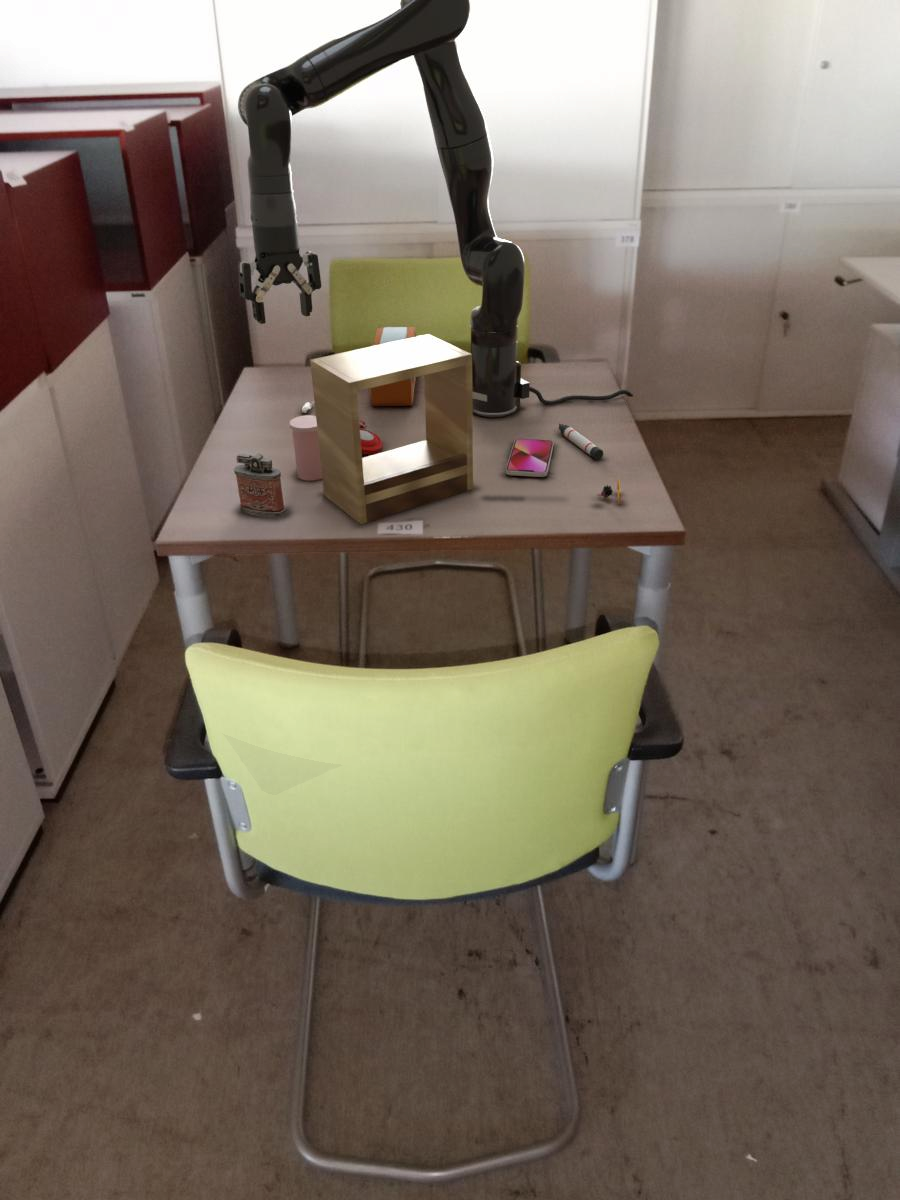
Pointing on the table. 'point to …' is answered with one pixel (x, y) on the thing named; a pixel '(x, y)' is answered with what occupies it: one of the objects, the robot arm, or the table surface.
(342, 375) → the shelf
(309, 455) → the lidded canister
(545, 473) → the smartphone
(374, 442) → the tracker holder
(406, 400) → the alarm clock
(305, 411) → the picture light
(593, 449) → the marker
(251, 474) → the lighter
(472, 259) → the robot arm
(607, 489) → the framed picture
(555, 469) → the table surface
